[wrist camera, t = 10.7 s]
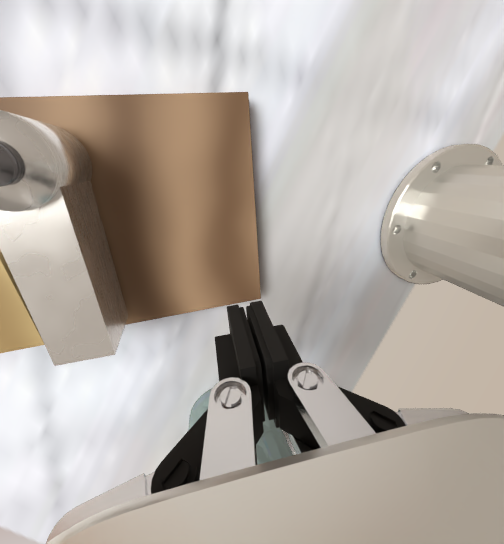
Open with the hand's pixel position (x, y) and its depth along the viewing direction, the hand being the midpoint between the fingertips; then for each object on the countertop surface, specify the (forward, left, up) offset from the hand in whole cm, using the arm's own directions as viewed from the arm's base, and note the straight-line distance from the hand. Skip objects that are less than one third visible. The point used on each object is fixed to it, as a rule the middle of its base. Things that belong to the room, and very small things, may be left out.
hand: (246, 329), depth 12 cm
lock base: (+5, -4, -9) cm, 11 cm away
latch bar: (+8, -4, -7) cm, 12 cm away
